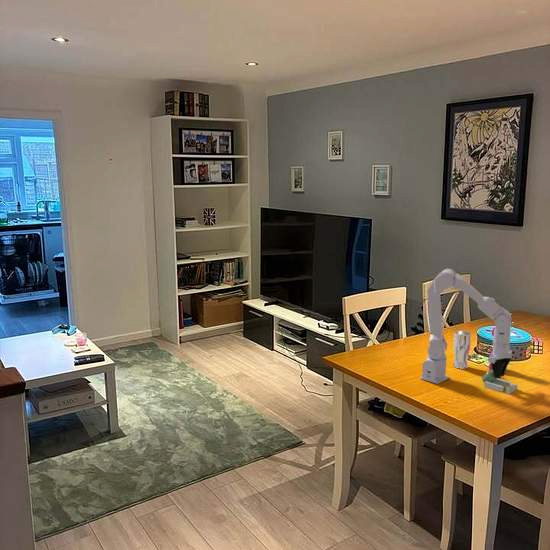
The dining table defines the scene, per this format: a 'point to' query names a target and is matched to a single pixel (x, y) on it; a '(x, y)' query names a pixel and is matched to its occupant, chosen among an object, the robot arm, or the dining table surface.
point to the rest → (503, 384)
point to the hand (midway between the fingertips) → (499, 376)
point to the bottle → (489, 377)
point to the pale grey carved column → (461, 348)
